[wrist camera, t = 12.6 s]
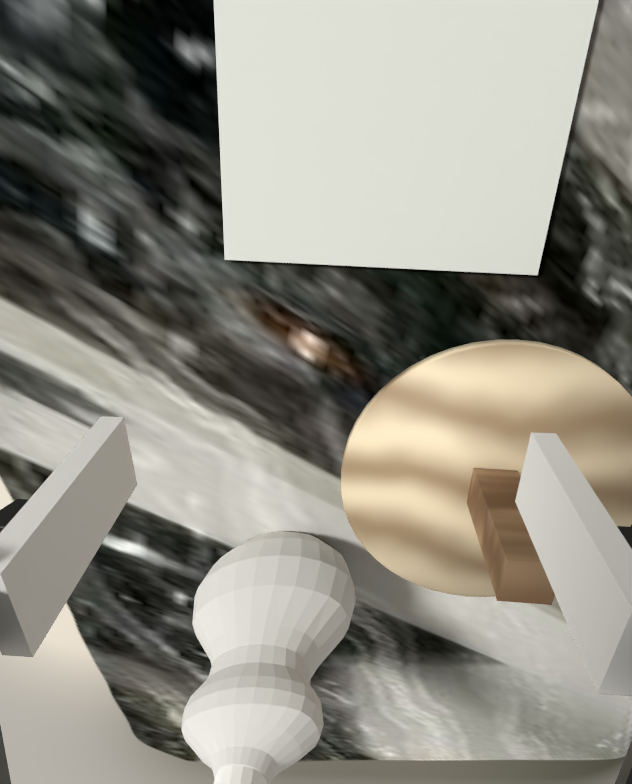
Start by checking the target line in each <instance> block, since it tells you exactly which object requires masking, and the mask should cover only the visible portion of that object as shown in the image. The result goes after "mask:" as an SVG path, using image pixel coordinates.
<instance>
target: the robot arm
mask: <svg viewBox="0 0 632 784" xmlns="http://www.w3.org/2000/svg"><path fill="white" fill-rule="evenodd" d="M136 486H137V481H136V476H135V471H134V466H133V461H132V456H131V451H130V446H129V441H128V436H127V431H126V426H125V421H124V417H100V418H99V420H98V421H97V422H96V423H95V424H94V425H93V427H92V428H91V429H90V430H89V431H88V432H87V433H86V435H85V436H84V437H83V438H82V439H81V440H80V441H79V443H78V444H77V445H76V446H75V447H74V448H73V450H72V451H71V452H70V453H69V454H68V455H67V456H66V458H65V459H64V460H63V461H62V462H61V463H60V465H59V466H58V467H57V468H56V469H55V470H54V471H53V473H52V474H51V475H50V476H49V477H48V478H47V479H46V481H45V482H44V483H43V484H42V485H41V486H40V488H39V489H38V490H37V491H36V492H35V493H34V494H33V496H32V497H31V498H30V499H29V500H26V499H17V500H15V501H14V502H12V503H11V504H9V505H8V506H6V507H4V508H3V509H1V510H0V651H1V653H2V655H10V656H25V657H33V656H34V654H35V653H36V651H37V649H38V648H39V646H40V645H41V643H42V641H43V640H44V638H45V636H46V634H47V633H48V631H49V629H50V628H51V626H52V625H53V623H54V621H55V620H56V618H57V616H58V615H59V613H60V611H61V610H62V608H63V606H64V605H65V603H66V602H67V600H68V598H69V597H70V595H71V593H72V592H73V590H74V588H75V587H76V585H77V583H78V582H79V580H80V578H81V577H82V575H83V573H84V572H85V570H86V568H87V567H88V565H89V563H90V562H91V560H92V558H93V557H94V555H95V553H96V552H97V550H98V549H99V547H100V545H101V544H102V542H103V540H104V539H105V537H106V535H107V534H108V532H109V530H110V529H111V527H112V525H113V524H114V522H115V520H116V519H117V517H118V515H119V514H120V512H121V510H122V509H123V507H124V505H125V504H126V502H127V501H128V499H129V497H130V496H131V494H132V492H133V491H134V489H135V487H136ZM515 502H516V505H517V507H518V509H519V512H520V514H521V516H522V519H523V521H524V523H525V526H526V528H527V530H528V533H529V535H530V538H531V540H532V542H533V545H534V547H535V549H536V552H537V554H538V556H539V559H540V561H541V563H542V566H543V568H544V570H545V573H546V575H547V577H548V580H549V582H550V584H551V587H552V589H553V591H554V594H555V596H556V598H557V601H558V603H559V605H560V608H561V610H562V613H563V615H564V617H565V620H566V622H567V624H568V627H569V629H570V631H571V634H572V636H573V638H574V641H575V643H576V645H577V648H578V650H579V652H580V655H581V657H582V659H583V662H584V664H585V666H586V669H587V671H588V673H589V676H590V678H591V680H592V683H593V685H594V688H595V690H596V692H597V694H606V695H622V696H632V527H626V526H616V524H615V523H614V521H613V520H612V518H611V517H610V515H609V513H608V512H607V510H606V509H605V507H604V506H603V504H602V503H601V501H600V500H599V498H598V497H597V495H596V494H595V492H594V491H593V489H592V487H591V486H590V484H589V483H588V481H587V480H586V478H585V477H584V475H583V474H582V472H581V471H580V469H579V468H578V466H577V465H576V463H575V461H574V460H573V458H572V457H571V455H570V454H569V452H568V451H567V449H566V448H565V446H564V445H563V443H562V442H561V440H560V439H559V437H558V435H557V434H556V433H532V432H531V435H530V440H529V444H528V448H527V452H526V457H525V461H524V465H523V470H522V474H521V478H520V483H519V487H518V491H517V495H516V500H515ZM0 784H11V781H10V775H9V770H8V765H7V759H6V754H5V748H4V743H3V738H2V732H1V727H0ZM615 784H632V742H631V744H630V747H629V749H628V752H627V755H626V757H625V760H624V762H623V765H622V767H621V770H620V772H619V775H618V777H617V780H616V782H615Z"/></svg>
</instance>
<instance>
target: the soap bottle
mask: <svg viewBox="0 0 632 784" xmlns="http://www.w3.org/2000/svg"><path fill="white" fill-rule="evenodd" d="M355 603H356V596H355V587H354V584H353V581H352V578H351V575H350V572H349V569H348V566H347V564H346V562H345V560H344V558H343V557H342V555H341V554H340V553H339V552H337V551H336V550H335V549H333V548H332V547H330V546H329V545H327V544H326V543H324V542H323V541H321V540H320V539H318V538H316V537H314V536H311V535H309V534H304V533H298V532H285V531H284V532H272V533H267V534H263V535H259V536H257V537H255V538H252V539H250V540H248V541H246V542H245V543H243V544H241V545H239V546H238V547H236V548H234V549H232V550H231V551H230V552H228V553H227V554H225V555H224V556H222V557H221V558H220V559H219V560H218V561H217V562H216V563H215V564H214V565H213V567H212V568H211V570H210V571H209V573H208V574H207V575H206V577H205V578H204V580H203V581H202V583H201V584H200V586H199V587H198V590H197V592H196V595H195V600H194V611H193V623H192V624H193V627H194V631H195V634H196V637H197V638H198V640H199V642H200V643H201V645H202V647H203V648H204V650H205V652H206V654H207V655H208V657H209V659H210V660H211V665H212V668H211V671H210V673H209V676H208V679H207V680H206V681H205V682H204V683H203V684H202V685H201V686H200V687H199V688H198V689H197V690H196V691H195V692H194V694H193V695H192V696H191V697H190V699H189V701H188V703H187V705H186V707H185V710H184V714H183V718H182V733H183V736H184V739H185V741H186V742H187V743H188V744H189V746H190V747H191V748H192V749H193V750H194V752H195V753H196V754H197V755H198V757H199V758H200V759H201V760H202V761H203V762H204V763H205V764H206V765H207V766H209V767H210V768H211V769H212V770H213V774H214V777H215V780H214V784H270V783H271V781H272V780H273V778H274V777H275V775H277V774H278V773H280V772H281V771H283V770H285V769H286V768H288V767H289V766H291V765H292V764H294V763H295V762H297V761H298V760H300V759H301V758H302V757H303V756H304V755H306V754H307V753H308V752H309V751H310V750H312V749H313V748H314V747H315V746H316V744H317V742H318V740H319V738H320V735H321V731H322V728H323V716H322V709H321V702H320V700H319V698H318V697H317V695H316V693H315V692H314V690H313V689H312V688H311V686H310V679H311V678H312V676H313V674H314V673H315V671H316V669H317V668H318V667H319V665H320V664H321V663H322V662H323V661H324V660H325V658H326V657H327V656H328V655H329V654H330V653H331V651H332V650H333V649H334V648H335V647H336V646H337V644H338V643H339V642H340V641H341V640H342V639H343V637H344V636H345V634H346V632H347V630H348V628H349V625H350V621H351V617H352V614H353V610H354V607H355Z"/></svg>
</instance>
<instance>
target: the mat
mask: <svg viewBox="0 0 632 784" xmlns="http://www.w3.org/2000/svg"><path fill="white" fill-rule="evenodd" d="M598 2H599V0H214V18H215V42H216V65H217V89H218V113H219V136H220V160H221V183H222V207H223V231H224V254H225V260H239V261H259V262H279V263H299V264H319V265H339V266H360V267H380V268H400V269H420V270H440V271H460V272H481V273H501V274H521V275H538V271H539V267H540V262H541V258H542V253H543V249H544V244H545V240H546V235H547V231H548V226H549V222H550V217H551V213H552V208H553V204H554V199H555V195H556V190H557V186H558V181H559V177H560V172H561V168H562V163H563V159H564V154H565V150H566V145H567V141H568V136H569V132H570V127H571V123H572V118H573V114H574V109H575V105H576V100H577V96H578V91H579V87H580V82H581V78H582V73H583V69H584V64H585V60H586V55H587V51H588V46H589V42H590V37H591V33H592V28H593V24H594V19H595V15H596V11H597V6H598Z"/></svg>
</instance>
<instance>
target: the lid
mask: <svg viewBox="0 0 632 784" xmlns="http://www.w3.org/2000/svg"><path fill="white" fill-rule="evenodd" d="M531 432H532V433H556V434H557V435H558V437H559V439H560V440H561V442H562V443H563V445H564V446H565V448H566V449H567V451H568V452H569V454H570V455H571V457H572V458H573V460H574V461H575V463H576V465H577V466H578V468H579V469H580V471H581V472H582V474H583V475H584V477H585V478H586V480H587V481H588V483H589V484H590V486H591V487H592V489H593V491H594V492H595V494H596V495H597V497H598V498H599V500H600V501H601V503H602V504H603V506H604V507H605V509H606V510H607V512H608V513H609V515H610V517H611V518H612V520H613V521H614V523H615V524H616V526H626V527H630V526H631V524H632V396H631V395H630V394H629V393H628V392H627V391H626V390H625V389H624V388H623V387H622V385H621V384H620V383H619V382H617V381H616V380H615V379H614V378H613V377H612V376H611V375H609V374H608V373H607V372H605V371H604V370H603V369H602V368H600V367H599V366H598V365H596V364H595V363H593V362H591V361H589V360H588V359H586V358H584V357H582V356H581V355H579V354H576V353H574V352H571V351H569V350H566V349H563V348H561V347H557V346H553V345H549V344H545V343H541V342H534V341H525V340H490V341H482V342H474V343H469V344H465V345H461V346H457V347H453V348H450V349H447V350H445V351H442V352H439V353H437V354H434V355H431V356H429V357H427V358H425V359H423V360H421V361H420V362H418V363H416V364H414V365H412V366H410V367H409V368H407V369H406V370H404V371H403V372H401V373H400V374H399V375H397V376H396V377H394V378H393V379H392V380H391V381H390V382H388V383H387V384H386V385H385V386H384V387H383V388H382V389H381V390H379V391H378V393H377V394H376V395H375V396H374V397H373V398H372V399H371V401H370V402H369V403H368V404H367V405H366V407H365V408H364V410H363V411H362V413H361V414H360V416H359V417H358V419H357V420H356V422H355V424H354V426H353V428H352V431H351V433H350V435H349V437H348V440H347V444H346V447H345V450H344V455H343V462H342V470H341V493H342V499H343V504H344V509H345V512H346V515H347V518H348V521H349V523H350V525H351V527H352V529H353V531H354V533H355V535H356V536H357V538H358V539H359V540H360V542H361V543H362V545H363V546H364V547H365V549H366V550H367V551H368V552H369V553H370V554H371V555H372V556H373V557H374V558H375V559H376V560H377V561H379V562H380V563H381V564H382V565H384V566H385V567H386V568H387V569H389V570H390V571H392V572H394V573H395V574H397V575H398V576H400V577H402V578H404V579H406V580H408V581H410V582H412V583H414V584H417V585H419V586H422V587H425V588H428V589H431V590H434V591H439V592H443V593H447V594H453V595H461V596H474V597H491V596H496V599H497V601H509V602H522V603H535V604H548V605H552V602H553V599H554V595H555V594H554V591H553V589H552V587H551V584H550V582H549V580H548V577H547V575H546V573H545V570H544V568H543V566H542V563H541V561H540V559H539V556H538V554H537V552H536V549H535V547H534V545H533V542H532V540H531V538H530V535H529V533H528V530H527V528H526V526H525V523H524V521H523V519H522V516H521V514H520V512H519V509H518V507H517V505H516V502H515V500H516V495H517V491H518V487H519V483H520V478H521V474H522V470H523V465H524V461H525V457H526V452H527V448H528V444H529V440H530V435H531Z"/></svg>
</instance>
